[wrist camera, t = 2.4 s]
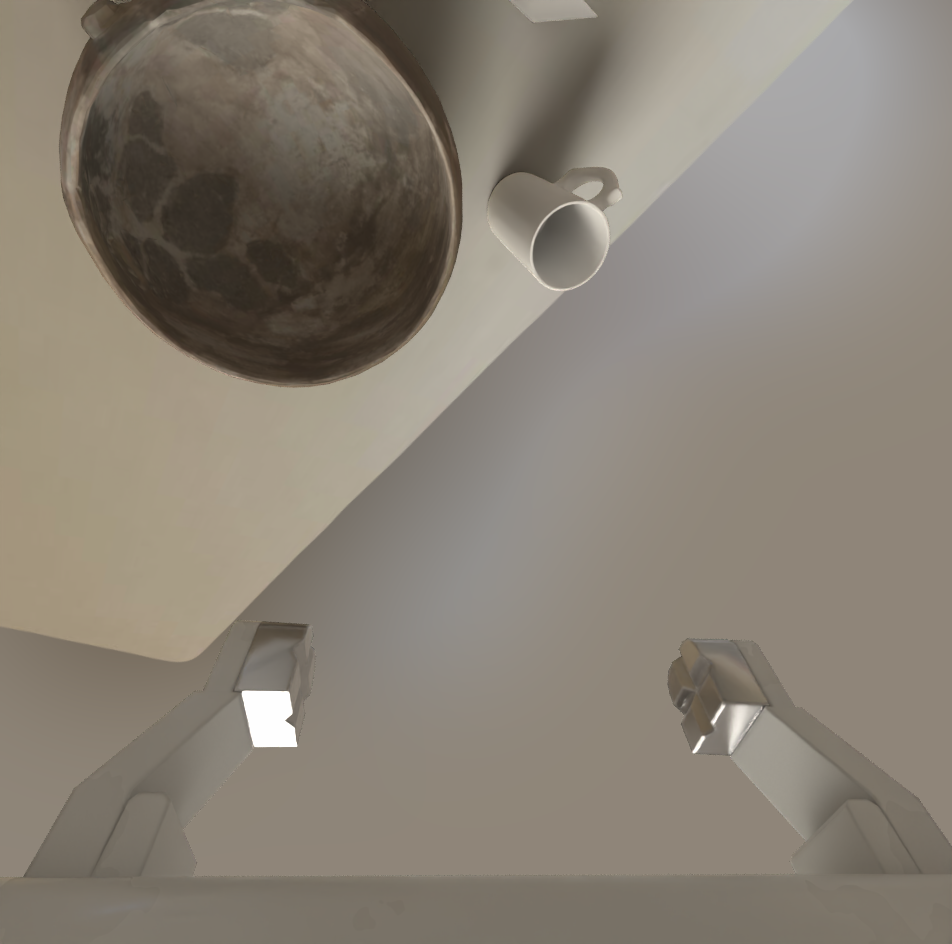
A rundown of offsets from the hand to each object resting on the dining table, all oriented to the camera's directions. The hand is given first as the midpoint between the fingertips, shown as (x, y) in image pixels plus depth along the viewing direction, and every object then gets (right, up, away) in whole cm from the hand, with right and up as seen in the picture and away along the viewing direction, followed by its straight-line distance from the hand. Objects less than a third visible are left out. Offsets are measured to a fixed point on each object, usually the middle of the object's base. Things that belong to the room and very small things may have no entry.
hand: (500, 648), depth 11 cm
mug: (+5, +30, +38) cm, 48 cm away
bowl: (-16, +28, +31) cm, 45 cm away
